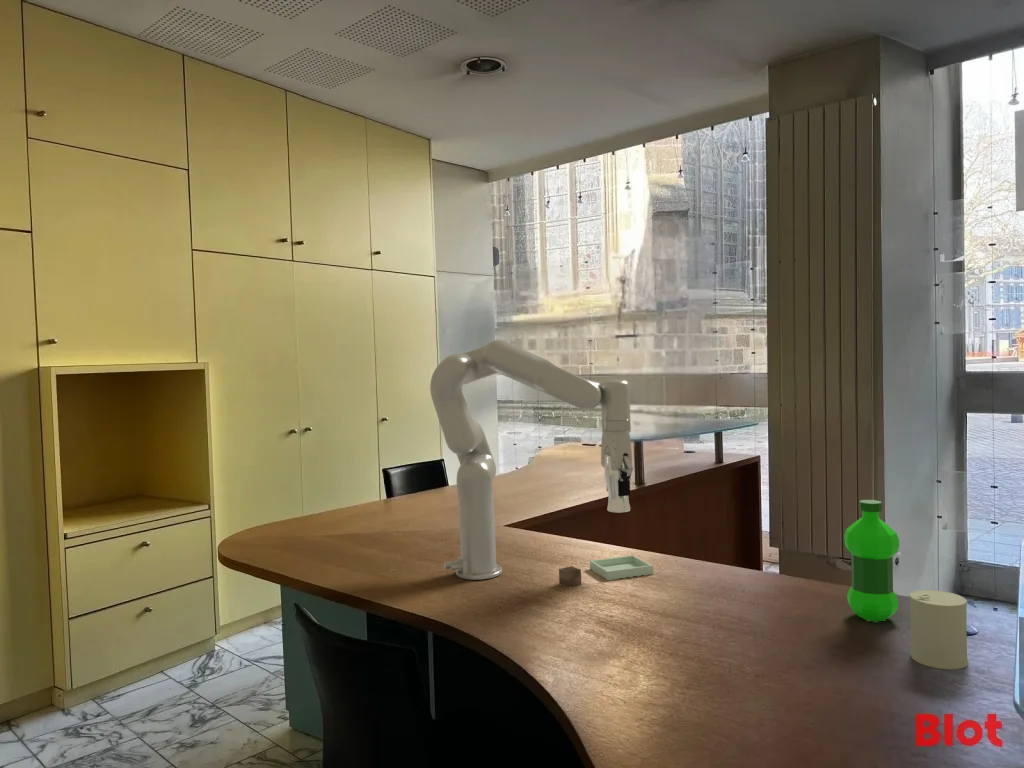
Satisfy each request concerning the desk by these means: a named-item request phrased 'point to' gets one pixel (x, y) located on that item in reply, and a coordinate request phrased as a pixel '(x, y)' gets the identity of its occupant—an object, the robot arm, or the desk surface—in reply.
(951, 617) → the can
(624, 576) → the tray
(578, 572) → the walnut block
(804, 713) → the desk surface
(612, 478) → the beer glass
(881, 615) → the plastic bottle
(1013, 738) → the desk surface
